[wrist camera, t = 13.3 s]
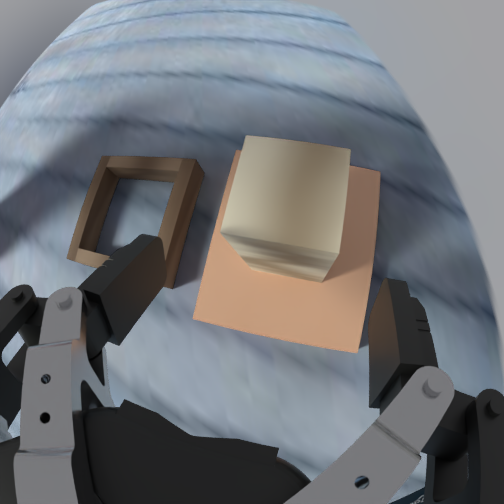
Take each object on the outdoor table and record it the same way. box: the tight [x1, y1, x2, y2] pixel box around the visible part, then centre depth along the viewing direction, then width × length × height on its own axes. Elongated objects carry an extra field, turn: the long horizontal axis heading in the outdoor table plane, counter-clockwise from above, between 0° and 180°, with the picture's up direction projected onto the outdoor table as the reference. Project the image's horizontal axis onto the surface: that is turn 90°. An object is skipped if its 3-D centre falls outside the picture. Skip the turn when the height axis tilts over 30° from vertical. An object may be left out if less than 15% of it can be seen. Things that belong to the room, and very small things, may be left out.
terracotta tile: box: [193, 150, 380, 353], centre depth 22 cm, size 12×14×2 cm
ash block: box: [220, 135, 351, 283], centre depth 17 cm, size 5×5×9 cm
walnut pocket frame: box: [67, 156, 205, 289], centre depth 24 cm, size 10×10×2 cm
